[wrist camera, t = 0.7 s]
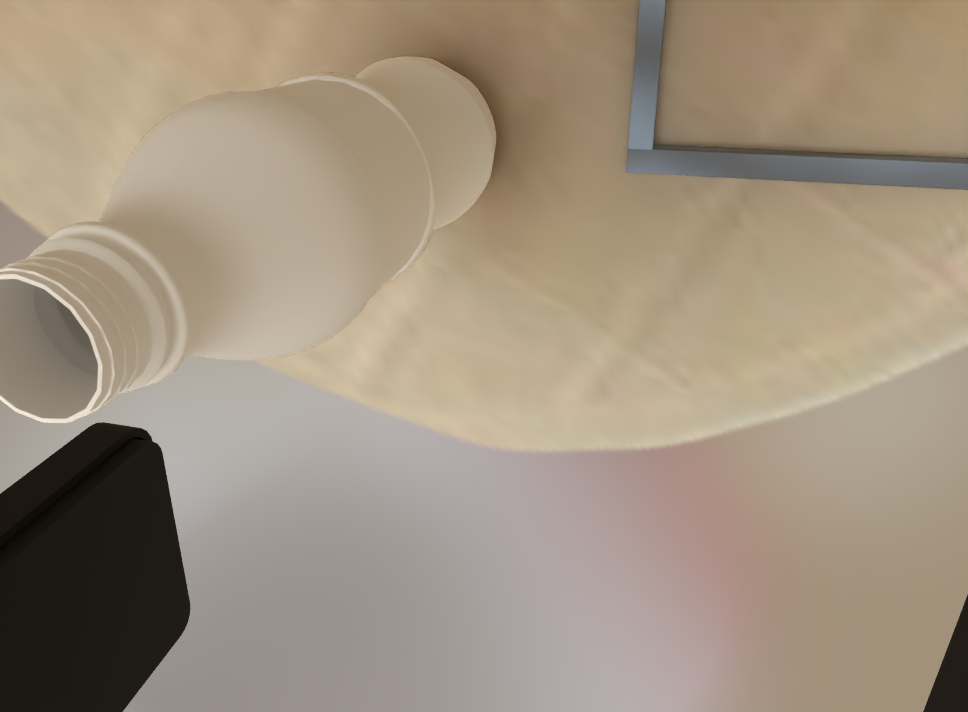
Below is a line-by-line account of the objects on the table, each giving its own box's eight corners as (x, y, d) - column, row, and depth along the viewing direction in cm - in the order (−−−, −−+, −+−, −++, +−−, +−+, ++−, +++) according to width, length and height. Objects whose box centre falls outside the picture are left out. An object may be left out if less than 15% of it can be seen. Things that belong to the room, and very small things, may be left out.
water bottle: (536, 102, 35) (267, 288, 13) (465, 239, 38) (153, 579, 16) (394, 20, 35) (-128, 63, 12) (336, 165, 38) (-158, 400, 16)
